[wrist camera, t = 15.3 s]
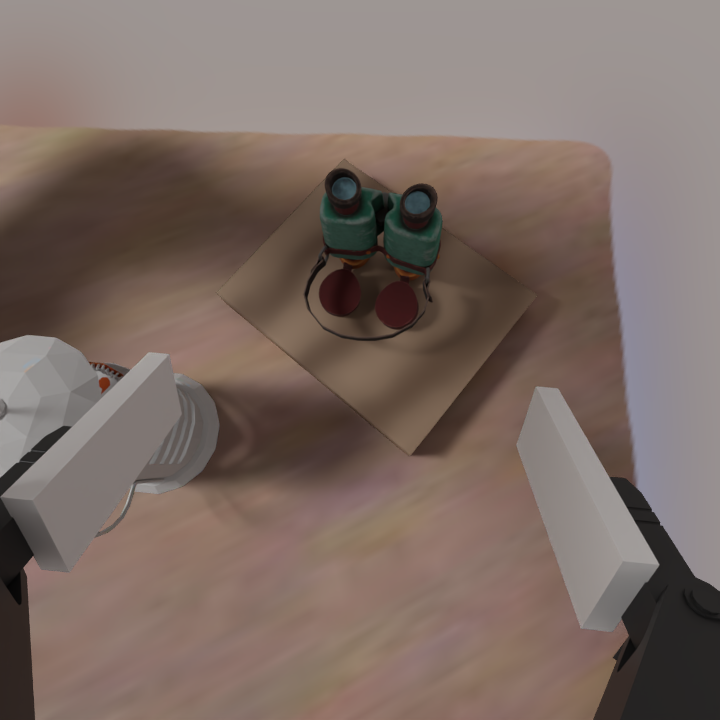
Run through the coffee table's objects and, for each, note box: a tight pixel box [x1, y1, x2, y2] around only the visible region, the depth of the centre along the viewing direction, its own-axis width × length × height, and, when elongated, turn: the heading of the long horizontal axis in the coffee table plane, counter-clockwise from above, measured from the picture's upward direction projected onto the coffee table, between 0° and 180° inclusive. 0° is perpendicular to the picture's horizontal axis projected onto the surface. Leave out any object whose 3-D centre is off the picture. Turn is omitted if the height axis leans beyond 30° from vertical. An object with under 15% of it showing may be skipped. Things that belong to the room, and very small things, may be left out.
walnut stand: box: [216, 159, 537, 456], centre depth 35 cm, size 20×16×2 cm
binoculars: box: [303, 168, 442, 341], centre depth 28 cm, size 9×11×10 cm
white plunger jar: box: [0, 335, 220, 538], centre depth 22 cm, size 10×12×25 cm
